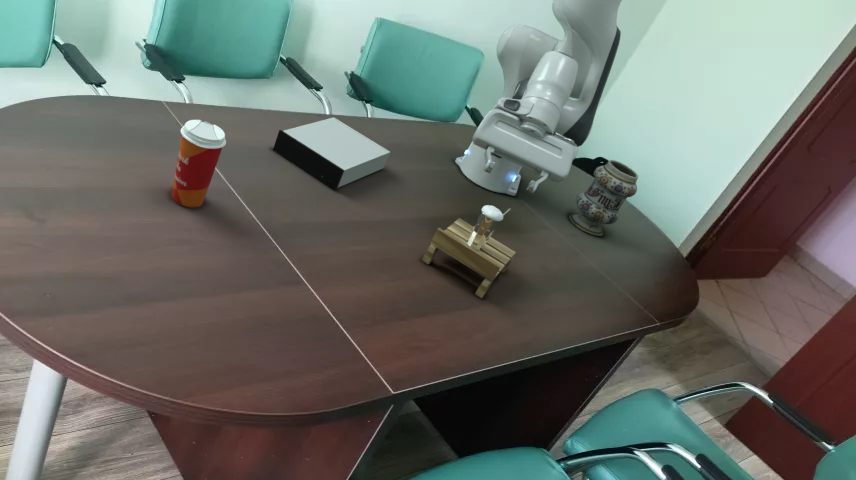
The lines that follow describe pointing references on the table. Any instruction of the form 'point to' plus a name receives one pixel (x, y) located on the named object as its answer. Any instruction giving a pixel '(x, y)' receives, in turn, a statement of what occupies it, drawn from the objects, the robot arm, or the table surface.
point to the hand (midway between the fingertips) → (508, 180)
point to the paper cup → (196, 161)
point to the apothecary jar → (604, 197)
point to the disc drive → (331, 151)
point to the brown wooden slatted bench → (471, 253)
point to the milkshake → (485, 226)
